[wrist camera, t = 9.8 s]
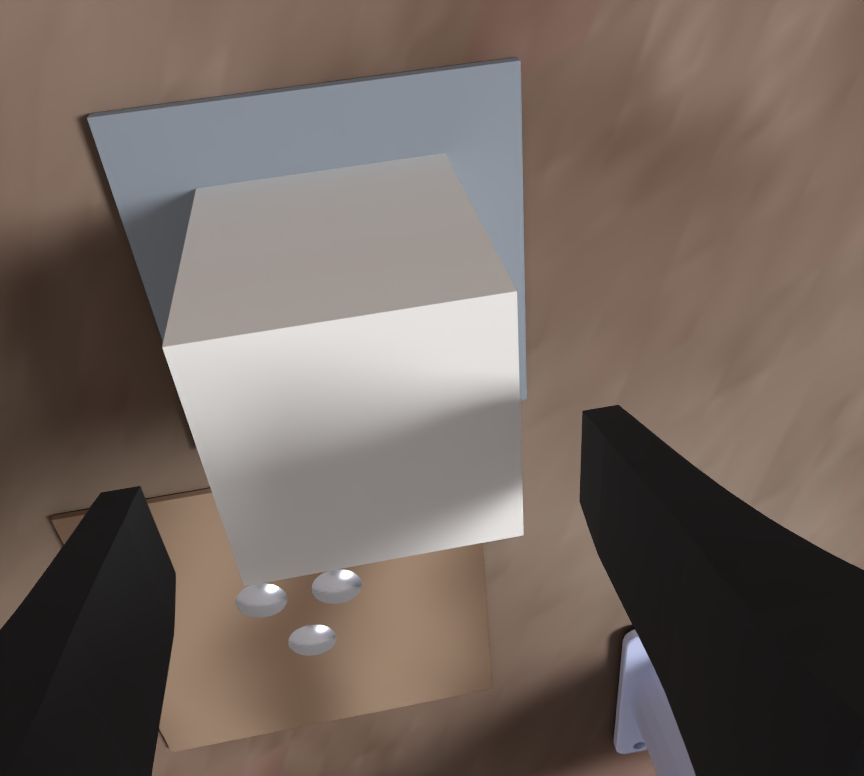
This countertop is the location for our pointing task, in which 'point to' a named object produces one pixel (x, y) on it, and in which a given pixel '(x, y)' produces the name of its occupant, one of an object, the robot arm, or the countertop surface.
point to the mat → (317, 154)
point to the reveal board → (308, 633)
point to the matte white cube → (348, 367)
